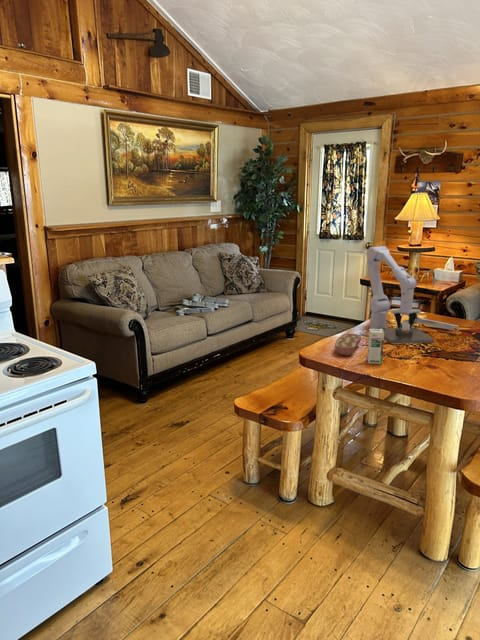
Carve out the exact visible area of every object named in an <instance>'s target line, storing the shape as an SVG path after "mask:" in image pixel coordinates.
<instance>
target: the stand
mask: <svg viewBox="0 0 480 640" xmlns="http://www.w3.org/2000/svg"><path fill="white" fill-rule="evenodd" d="M376 329H383V331H384V341H386V342H388V343H389V344H423V343H424V344H431V343H432V344H433V343H435V339H434V338H432V337H431V336H430V335H428V334H427V333H426V332H424V331H422V330H421V329H419V328H418V327H415V326H412V328H410V331H400V330H399V328H398V327H386V328H376Z"/></svg>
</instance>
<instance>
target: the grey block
mask: <svg viewBox="0 0 480 640" xmlns="http://www.w3.org/2000/svg"><path fill="white" fill-rule="evenodd" d="M399 330H400V331H410V324H409V323H408V322H403V321H401V326H400V328H399Z"/></svg>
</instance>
